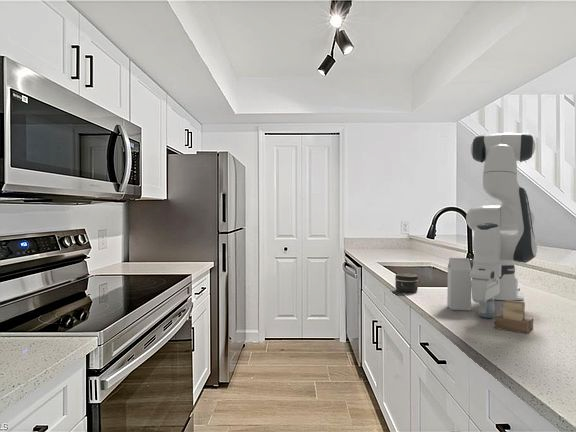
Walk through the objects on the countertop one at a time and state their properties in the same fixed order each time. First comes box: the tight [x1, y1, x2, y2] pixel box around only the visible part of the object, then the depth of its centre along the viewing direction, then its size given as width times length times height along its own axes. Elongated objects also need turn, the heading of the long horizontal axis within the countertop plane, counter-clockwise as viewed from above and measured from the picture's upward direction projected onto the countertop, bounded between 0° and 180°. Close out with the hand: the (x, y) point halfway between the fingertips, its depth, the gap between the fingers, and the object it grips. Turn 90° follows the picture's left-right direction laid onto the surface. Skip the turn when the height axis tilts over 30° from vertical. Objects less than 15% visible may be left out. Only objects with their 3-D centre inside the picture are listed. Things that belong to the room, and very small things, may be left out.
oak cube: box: [502, 300, 526, 321], centre depth 132 cm, size 5×5×5 cm
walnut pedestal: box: [494, 313, 534, 334], centre depth 132 cm, size 9×9×3 cm
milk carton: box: [446, 257, 472, 311], centre depth 159 cm, size 7×7×19 cm
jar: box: [394, 273, 419, 294], centre depth 192 cm, size 10×10×8 cm
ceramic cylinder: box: [478, 300, 495, 319], centre depth 145 cm, size 5×5×5 cm
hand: (486, 311), depth 145 cm, fingers closed on ceramic cylinder, 5 cm apart
